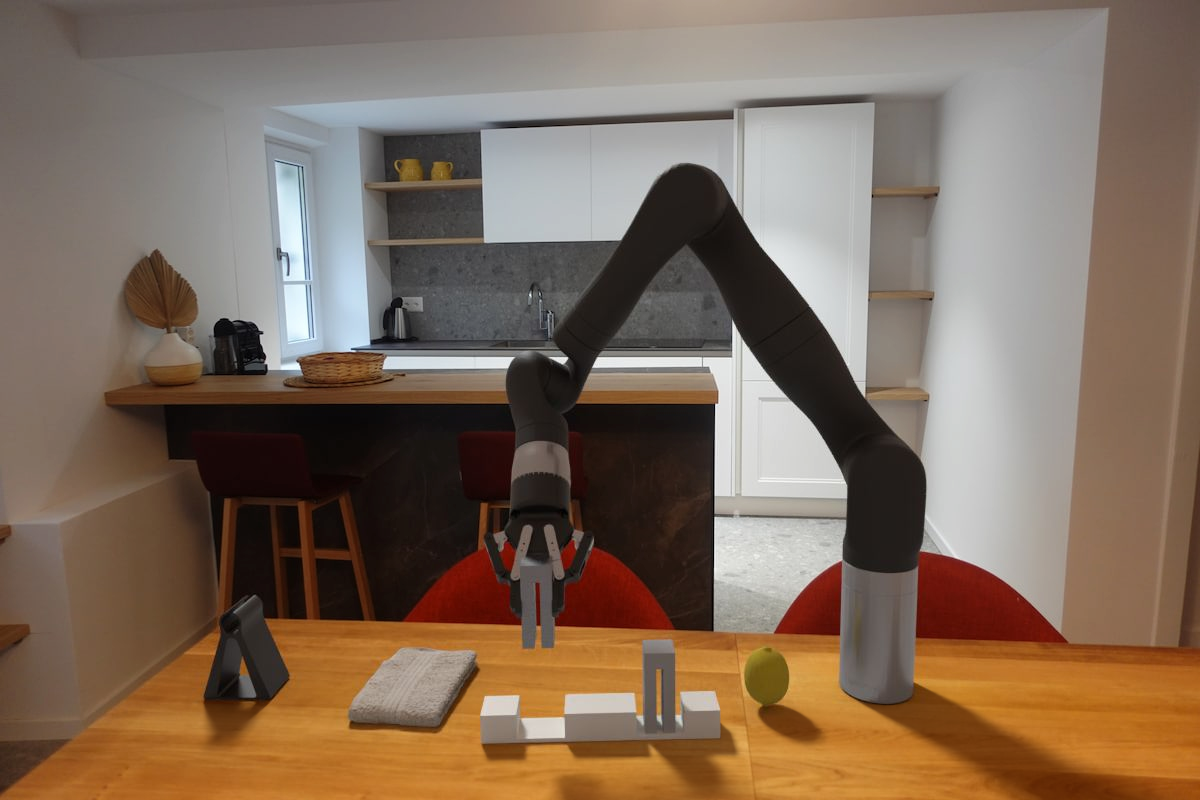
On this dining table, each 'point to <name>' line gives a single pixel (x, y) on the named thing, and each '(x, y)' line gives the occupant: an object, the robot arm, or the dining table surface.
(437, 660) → the washcloth
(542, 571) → the grey slotted block
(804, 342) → the robot arm
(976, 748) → the dining table surface
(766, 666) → the lemon
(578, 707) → the rail
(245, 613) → the phone stand
